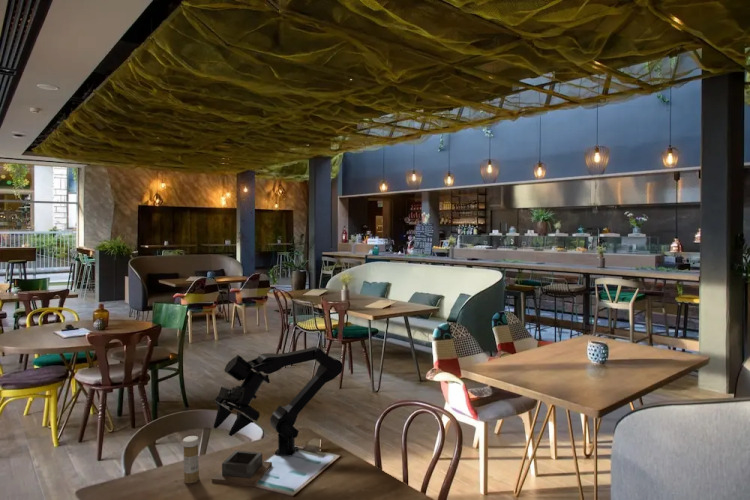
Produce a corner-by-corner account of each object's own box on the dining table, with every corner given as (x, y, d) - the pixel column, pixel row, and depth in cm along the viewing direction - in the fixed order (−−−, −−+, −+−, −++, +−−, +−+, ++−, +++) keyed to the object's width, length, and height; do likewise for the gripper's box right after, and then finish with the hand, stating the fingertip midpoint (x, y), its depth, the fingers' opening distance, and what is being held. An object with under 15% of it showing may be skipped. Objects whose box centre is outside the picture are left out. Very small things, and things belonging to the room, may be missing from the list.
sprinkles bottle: (197, 475, 165) (196, 434, 164) (200, 481, 161) (199, 439, 160) (182, 479, 163) (181, 437, 162) (185, 485, 159) (184, 442, 158)
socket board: (232, 462, 174) (232, 446, 174) (271, 465, 172) (271, 450, 171) (211, 482, 161) (211, 466, 160) (254, 486, 158) (254, 470, 158)
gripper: (217, 371, 176) (189, 413, 168) (248, 381, 163) (220, 428, 156) (239, 387, 182) (213, 428, 175) (271, 398, 169) (244, 443, 162)
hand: (222, 431), depth 167 cm, fingers open, 9 cm apart
